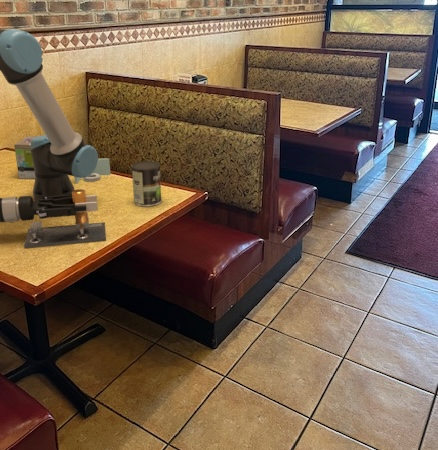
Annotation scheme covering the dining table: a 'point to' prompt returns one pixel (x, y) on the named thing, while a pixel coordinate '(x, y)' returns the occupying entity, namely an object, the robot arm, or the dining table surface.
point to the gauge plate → (63, 235)
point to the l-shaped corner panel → (97, 171)
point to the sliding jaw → (80, 217)
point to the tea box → (25, 158)
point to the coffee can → (146, 183)
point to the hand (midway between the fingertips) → (96, 202)
